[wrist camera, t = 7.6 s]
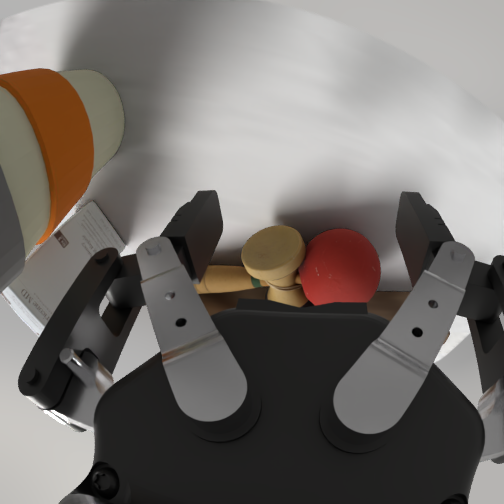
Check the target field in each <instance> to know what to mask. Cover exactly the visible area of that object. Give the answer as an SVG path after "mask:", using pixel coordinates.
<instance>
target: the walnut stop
mask: <svg viewBox="0 0 504 504" xmlns="http://www.w3.org/2000/svg"><path fill="white" fill-rule="evenodd" d="M266 290H267V288H264V287H258V288H252V289H246V290H240V291H232V292H222V293H203V294H198V295H199V297H200V299H201V300H202V302H203V304H204V306H205V308H206V310H207V312H208V314H209V316H211V315H213V314H215V313H218V312H220V311H223V310H226V309H231V308H236V306H237V302H238V299H239V298H244V299H263V300H264V295H265V292H266ZM409 294H410V292H383V291H376V292H375V294H374V295H373V297H372V298H371V299H370V300H369V301H368V302H367V311H368V312H369V313H373V314H376V315H379V316H381V317H383V318H385V319H387V320H389V321H391V320H392V319H393V317H394V316H395V315H396V313H397V312H398V310H399V309H400V307H401V306H402V304H403V303H404V301H405V300H406V298H407V297H408V295H409ZM449 335H450V332H448V334H447V336H446V338H445V340H444V342H443V344H444V343H445V342H446V340H447V339H448V337H449Z"/></svg>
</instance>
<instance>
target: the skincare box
mask: <svg viewBox="0 0 504 504" xmlns="http://www.w3.org/2000/svg"><path fill="white" fill-rule="evenodd" d="M108 247H113V248H116V249H117V250H118V252H119V254H120V253H121V252H122V251H123V250H124V249H125V245H124V243H123V241H122V240H121V238H120V237H119V236H118V234H117V233H116V231H115V230H114V228H113V227H112V226H111V224H110V223H109V221H108V220H107V219H106V217H105V216H104V214H103V213H102V212H101V210H100V209H99V207H98V206H97V205H96V204H95V203H94V202H93V201H91V202H89V203H88V204H87V205H86V206H84V207H83V208H82V209H80V210H79V211H78V212H76V213H75V214H74V215H72V216H71V217H70V218H69V219H68V220H67V221H66V222H65V223H64V224H62V225H61V226H60V227H59V228H58V229H57V230H56V231H55V232H54V233H53V234H52V235H51V236H50V237H49V238H48V239H47V240H45V241H44V242H43V243H42V245H40V246H39V248H37V249H36V251H35V252H33V254H32V255H31V256H30V257H29V258H28V259H27V260H26V261H25V267H24V269H23V271H22V273H21V274H20V275H19V276H18V277H17V278H16V279H15V280H14V281H13V282H12V283H11V284H10V285H9V286H8V287H7V288H6V289H5V290H4V291H3V292H2V293H1V295H2V296H3V297H4V299H5V300H6V301H7V302H8V304H9V305H10V306H11V307H12V309H13V310H14V311H15V312H16V314H17V315H18V316H19V317H20V318H21V319H22V320H23V321H24V322H25V323H26V324H27V325H28V326H29V327H30V328H31V329H32V330H33V332H34V333H35V334H36V335H37V336H40V335H41V333H42V331H43V330H44V328H45V326H46V324H47V323H48V321H49V319H50V318H51V316H52V315H53V313H54V311H55V310H56V308H57V307H58V305H59V303H60V302H61V300H62V299H63V297H64V296H65V294H66V293H67V291H68V290H69V288H70V287H71V285H72V284H73V282H74V281H75V279H76V278H77V276H78V275H79V273H80V272H81V271H82V269H83V268H84V266H85V265H86V264H87V262H88V261H89V259H90V258H91V257H92V256H93V255H94V254H95V253H96V252H98V251H100V250H102V249H104V248H108Z"/></svg>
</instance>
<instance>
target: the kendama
mask: <svg viewBox="0 0 504 504" xmlns="http://www.w3.org/2000/svg"><path fill="white" fill-rule="evenodd" d="M378 257H379V256H378V254H377V252H376V250H375V248H374V247H373V245H372V244H371V243H370V242H369V240H368V239H367V238H365V237H364V236H363V235H362V234H360V233H358V232H356V231H353V230H349V229H332V230H327V231H325V232H323V233H321V234H319V235H317V236H316V237H315V238H313V239H312V240H311V241H310V242H309V244H308V245H307V246H306V247H305V244H304V241H303V239H302V237H301V235H300V233H299V232H298V231H297V230H296V229H294V228H292V227H289V226H283V225H278V226H271V227H268V228H265V229H263V230H261V231H259V232H257V233H255V234H254V235H252V237H250V238H249V239H248V240H247V242H246V243H245V245H244V247H243V249H242V253H241V258H242V262H243V264H244V266H245V267H240V266H226V265H208V267H207V269H206V271H205V274H204V276H203V278H202V281H201V283H200V284H193V285H194V287H195V289H196V291H197V293H198V294H203V293H222V292H232V291H240V290H246V289H252V288H258V287H264V286H269V287H268V288H267V290H266V292H265V295H264V300H272V301H276V302H280V303H284V304H288V305H292V306H296V307H310V306H316V305H321V304H327V303H333V302H368V301H369V300H370V299H371V298H372V297H373V295H374V294H375V292H376V290H377V288H378V285H379V281H380V276H381V267H380V261H379V258H378Z"/></svg>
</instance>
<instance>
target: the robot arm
mask: <svg viewBox="0 0 504 504" xmlns="http://www.w3.org/2000/svg"><path fill="white" fill-rule="evenodd" d="M222 231H223V220H222V215H221V210H220V205H219V200H218V195H217V192H216V191H215V190H208V191H198V192H197V193H196V195H195V196H194V198H193V199H192V200H191V202H187V203H186V204H185V205H183V206H182V207H180V208H179V210H178V211H177V212H176V214H175V216H173V218H172V219H171V222H169V223H168V225H167V226H166V228H165V229H164V231H163V232H162V233H161V235H160V236H159V237H154V238H151V239H148V240H146V241H145V242H143V243H142V244H141V245H140V246H139V247H138V248H137V250H136V254H132V255H127V256H123V257H121V256H120V254H119V252H118V250H117V249H116V248H113V247H108V248H104V249H102V250H100V251H98V252H96V253H95V254H94V255H93V256H92V257H91V258H90V259H89V261H88V262H87V264H86V265H85V266H84V268H83V269H82V271H81V272H80V273H79V275H78V276H77V278H76V279H75V281H74V282H73V284H72V285H71V287H70V288H69V290H68V291H67V293H66V294H65V296H64V297H63V299H62V300H61V302H60V303H59V305H58V307H57V308H56V310H55V311H54V313H53V315H52V316H51V318H50V319H49V321H48V323H47V324H46V326H45V328H44V330H43V331H42V333H41V335H40V336H39V338H38V340H37V342H36V344H35V346H34V347H33V349H32V351H31V353H30V355H29V357H28V359H27V360H26V362H25V364H24V366H23V368H22V370H21V372H20V375H19V379H18V387H19V390H20V392H21V393H22V394H23V395H24V396H26V397H27V398H28V399H30V400H31V401H32V402H33V403H35V404H36V405H37V406H38V407H39V408H40V409H41V410H42V411H44V412H45V413H47V414H48V415H49V416H51V417H52V418H54V419H55V420H57V421H58V422H60V423H63V424H65V425H66V426H68V427H69V428H71V429H73V430H74V431H76V432H84V431H86V430H89V431H91V432H94V435H95V453H94V461H93V466H92V469H91V470H90V472H89V474H88V476H87V477H86V478H85V479H84V481H83V482H82V483H81V484H80V485H79V486H78V487H77V488H76V489H74V490H73V491H72V492H71V493H70V494H68V495H67V496H66V497H65V498H63V499H62V500H61V501H60V502H59V504H468V498H469V493H470V489H471V485H472V481H473V478H474V475H475V472H476V469H477V466H478V464H479V462H482V461H486V460H490V459H491V460H492V461H493V462H494V463H497V464H500V463H504V330H503V327H502V324H501V321H500V318H499V315H500V314H501V312H503V314H504V256H502V255H498V256H495V257H494V259H493V261H492V263H491V265H488V264H485V263H481V262H478V261H475V257H474V254H473V252H472V251H471V250H470V249H469V248H468V247H467V246H465V245H463V244H461V243H459V242H455V240H454V238H453V236H452V235H451V233H450V231H449V229H448V228H447V226H446V225H445V223H444V221H443V220H442V218H441V216H440V214H439V213H438V211H437V210H436V209H434V208H433V207H432V206H431V205H429V204H426V203H425V201H424V200H423V198H422V197H421V195H420V194H419V193H418V192H402V193H401V196H400V202H399V208H398V214H397V220H396V237H397V240H398V243H399V246H400V248H401V251H402V254H403V257H404V260H405V264H406V267H407V270H408V273H409V276H410V280H411V283H412V287H413V289H412V291H411V292H410V294H409V295H408V297H407V298H406V300H405V301H404V303H403V304H402V306H401V307H400V309H399V310H398V312H397V313H396V315H395V316H394V317H393V319H392V320H391V321H389V320H387V319H385V318H383V317H381V316H379V315H376V314H373V313H369V312H368V311H367V302H333V303H327V304H321V305H316V306H310V307H296V306H292V305H288V304H284V303H280V302H276V301H272V300H263V299H244V298H239V299H238V302H237V306H236V308H231V309H226V310H223V311H220V312H218V313H215V314H213V315H211V316H209V314H208V312H207V310H206V308H205V306H204V304H203V302H202V300H201V299H200V297H199V295H198V293H197V291H196V289H195V287H194V285H193V284H200V283H201V281H202V278H203V276H204V274H205V271H206V269H207V267H208V264H209V262H210V260H211V257H212V255H213V253H214V251H215V248H216V246H217V244H218V242H219V239H220V237H221V235H222ZM105 295H106V297H107V299H108V300H109V304H108V306H107V307H106V309H105V311H104V313H103V315H102V317H100V314H99V306H100V303H101V301H102V300H103V298H104V296H105ZM144 305H147V309H148V312H149V315H150V319H151V322H152V325H153V329H154V332H155V335H156V338H157V341H158V344H159V347H160V350H161V351H160V352H159V353H157V354H156V355H155V356H153V357H152V358H150V359H149V360H148V361H146V362H145V363H143V364H142V365H140V366H139V367H138V368H136V369H135V370H133V371H132V372H131V373H129V374H128V375H126V376H125V377H124V378H122V379H120V380H119V381H118V382H116V383H115V384H113V383H114V382H113V377H112V374H113V371H114V369H115V366H116V364H117V361H118V359H119V356H120V354H121V352H122V349H123V347H124V345H125V343H126V340H127V338H128V336H129V333H130V331H131V329H132V327H133V324H134V322H135V320H136V318H137V316H138V314H139V312H140V309H141V307H142V306H144ZM456 315H459V316H463V317H466V318H467V320H468V324H469V328H470V332H471V336H472V340H473V344H474V348H475V352H476V358H477V362H478V367H479V373H480V379H481V385H482V391H483V395H482V396H481V398H480V400H479V403H478V410H477V409H476V408H475V407H474V405H473V404H472V403H471V402H470V401H469V400H468V399H467V398H466V397H465V395H464V394H463V393H462V392H461V391H460V390H459V389H458V388H457V387H456V386H455V385H454V384H453V383H452V382H451V380H450V379H449V378H448V377H447V376H446V375H445V374H444V373H443V372H442V371H441V370H440V369H439V368H438V367H437V366H436V365H435V364H434V363H433V362H434V360H435V358H436V356H437V354H438V352H439V350H440V348H441V346H442V344H443V342H444V340H445V338H446V336H447V334H448V332H449V330H450V328H451V325H452V323H453V321H454V319H455V316H456Z"/></svg>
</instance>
